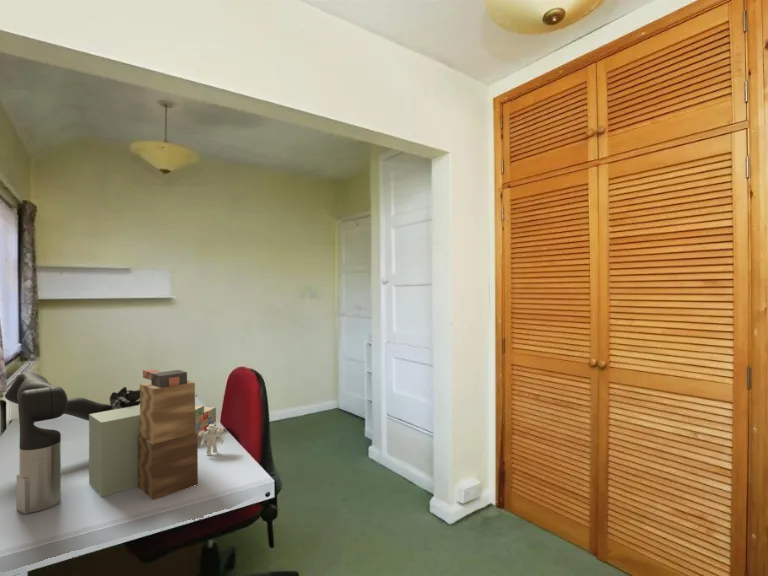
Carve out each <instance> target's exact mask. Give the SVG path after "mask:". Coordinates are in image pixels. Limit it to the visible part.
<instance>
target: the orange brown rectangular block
mask: <svg viewBox="0 0 768 576" xmlns="http://www.w3.org/2000/svg"><path fill="white" fill-rule="evenodd" d="M142 378H143V379H147V380H148V381H150V382H151V385H154V386H157V387H159V388H161V387H167V386H175V385H180V384H186V383H187V381H188V371H184V370H180V369H175V370H174V369H173V370H166V371H160V370H157V369H155V368H150V369H149V368H148V369H142Z"/></svg>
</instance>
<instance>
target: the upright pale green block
mask: <svg viewBox="0 0 768 576" xmlns="http://www.w3.org/2000/svg"><path fill="white" fill-rule="evenodd" d="M138 435H140V404H139V405H137V406H132V407H126V408H121V409H115V410H110V411H104V412H99V413H93V414H89V421H88V483H89V486H91V487H92V488H93V489H94V491H96V492H97V493H96V494H98V495H99V496H100V497H101V498H102V497H106V496H108V495H112V494H116V493H118V492H121V491H125V490H128V489H131V488H134V487H138Z"/></svg>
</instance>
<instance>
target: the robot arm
mask: <svg viewBox="0 0 768 576" xmlns="http://www.w3.org/2000/svg"><path fill="white" fill-rule="evenodd" d="M4 397H5V399H6V400H7V401H9V402H11V403H14V404H16V405H17V408H18V410H17V411H18V421H19V424H18V425H19V447H18V448H19V449H18V450H19V455H18V456H19V457H18V458H19V459H18V460H19V463H18V465H19V467H18V468H19V474H16V481H15V483H16V484H15V485H16V491H15V492H16V494H15V495H16V503H15V504H16V505H15V506H16V510H17V511H19V512H20V513H22V514H23V515H27V514H29V513H35V512H39V511H40V512H41V511H44V510H46V509H49V508H51V507H54V506H56V505H58V504H59V503H60V502H61V499H62V485H61V484H62V480H61V479H62V474H61V473H62V472H61V471H62V470H61V469H62V465H61V464H62V461H61V460H62V458H61V457H62V455H61V453H62V442H61V441H62V436H61V432H60V431H59V430H57V429H49V428H42V427H38V426H36V425H35V423H38V422H43V421H49V420H55V419H58V418H60V417H62V416H63V415H68V416H72V417H75V418H78V419H82V420H85V421H88V422H89V414H93V413H99V412H104V411H110V410H115V409H121V408H126V407H132V406H137V405H140V388H139V389H136V390H130V389H129V390H128V389H127V386H124V387H122V388H121V389H120V390H119V391H118V392H116V391H115V392H112V393H111V394H110V396H109V404H108V403H107V404H106V403H100V402H96V401H94V400H90V399H88V398H83V397H70V398H68V395H67V392H66V391H65V389H63V387H61V386H55V385H53V384H51V383H50V382H49V381H48V380H47V378H46V377H44V376H43V375H40V374H39V373H36V372H31V371H26V372H22V373H20V374H18V376H17V377H16V378H15V379H14V381H13V382H12V384H11V385H10V387H9V388H8V390H7V391H6V393H5V395H4Z"/></svg>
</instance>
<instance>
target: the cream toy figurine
mask: <svg viewBox="0 0 768 576" xmlns="http://www.w3.org/2000/svg"><path fill="white" fill-rule="evenodd" d="M218 422H219V420H218V419H216V422H214V424H209V426H208V427H207V429H208V430H207V432H206V433H205V431H200V433H199V436H200V437H198V439H200V438H201V439H202V440H201V443H200V448H203V445H204V446H205V445H206V448H207V449H206V453H205V455H206V454H207V455H211V456H212V452H213V453H218V454H219V452H218V446H217V438H218V439H219V440H218V443H220V442H221V444H223V443H224V439H223V437H222V435H223V434H224V433H225V432H224V427H221V426H219V427H217V424H218ZM215 425H216V427H215ZM205 442H207V443H205ZM207 455H206V456H207Z"/></svg>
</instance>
